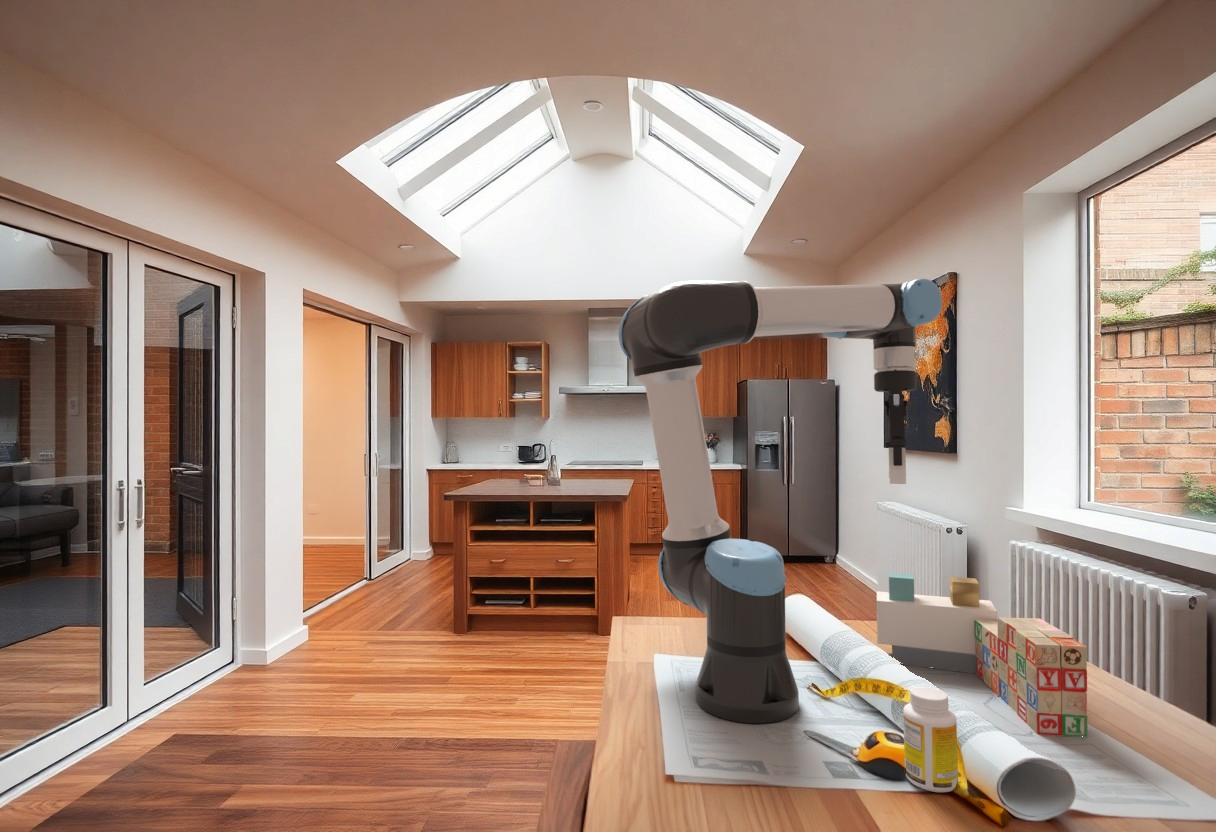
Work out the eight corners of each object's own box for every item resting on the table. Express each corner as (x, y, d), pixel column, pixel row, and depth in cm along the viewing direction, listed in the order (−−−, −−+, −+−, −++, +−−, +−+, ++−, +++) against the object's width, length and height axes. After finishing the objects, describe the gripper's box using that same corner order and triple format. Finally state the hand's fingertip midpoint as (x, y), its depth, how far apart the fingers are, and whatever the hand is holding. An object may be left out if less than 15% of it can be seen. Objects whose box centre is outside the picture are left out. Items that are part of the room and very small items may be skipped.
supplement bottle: (961, 778, 75) (959, 690, 76) (954, 800, 71) (952, 707, 71) (909, 764, 79) (908, 679, 79) (899, 784, 74) (898, 695, 74)
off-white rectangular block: (877, 643, 114) (876, 600, 114) (877, 631, 120) (876, 591, 120) (998, 656, 106) (997, 611, 107) (991, 643, 113) (990, 600, 113)
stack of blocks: (974, 675, 107) (973, 600, 107) (1016, 677, 106) (1014, 601, 106) (1037, 735, 86) (1035, 642, 86) (1089, 739, 85) (1087, 645, 85)
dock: (892, 663, 112) (892, 646, 112) (891, 648, 119) (891, 632, 119) (985, 674, 107) (984, 656, 107) (978, 658, 114) (978, 641, 114)
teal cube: (889, 599, 114) (888, 577, 114) (889, 594, 118) (888, 572, 118) (914, 601, 113) (913, 578, 113) (913, 596, 116) (912, 574, 116)
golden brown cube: (952, 605, 110) (952, 581, 110) (950, 599, 114) (949, 576, 114) (979, 607, 109) (978, 583, 109) (976, 601, 113) (975, 578, 113)
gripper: (920, 364, 112) (922, 486, 111) (913, 374, 134) (915, 476, 134) (873, 366, 114) (875, 485, 114) (874, 376, 137) (876, 475, 137)
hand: (897, 481), depth 124 cm, fingers open, 13 cm apart
